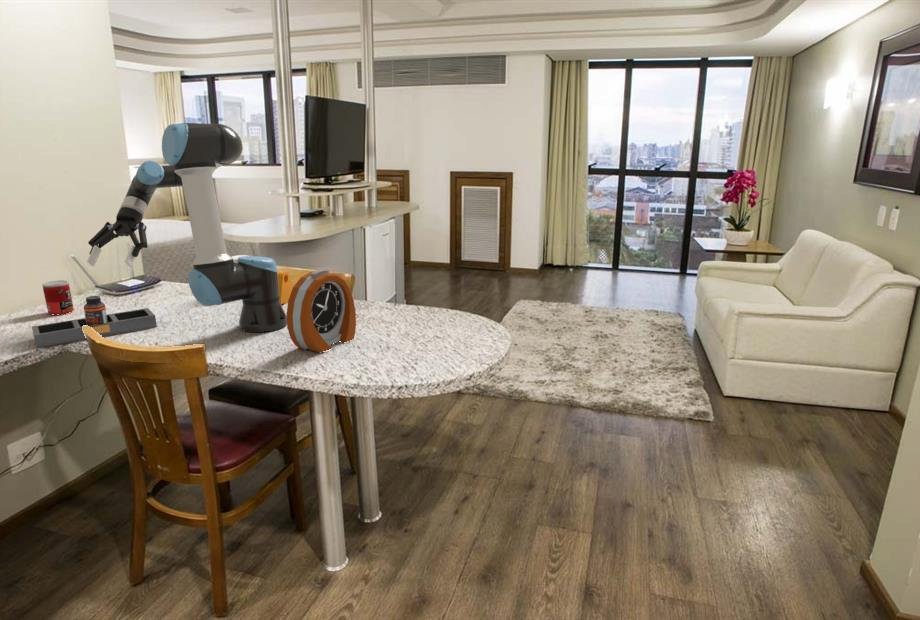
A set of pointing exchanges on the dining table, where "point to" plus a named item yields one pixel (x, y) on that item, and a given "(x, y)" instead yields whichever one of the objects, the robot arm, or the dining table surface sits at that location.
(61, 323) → the compartment tray
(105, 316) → the supplement bottle
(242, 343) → the dining table surface
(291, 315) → the alarm clock
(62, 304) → the canned food
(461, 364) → the dining table surface
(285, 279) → the yellow cheese block
